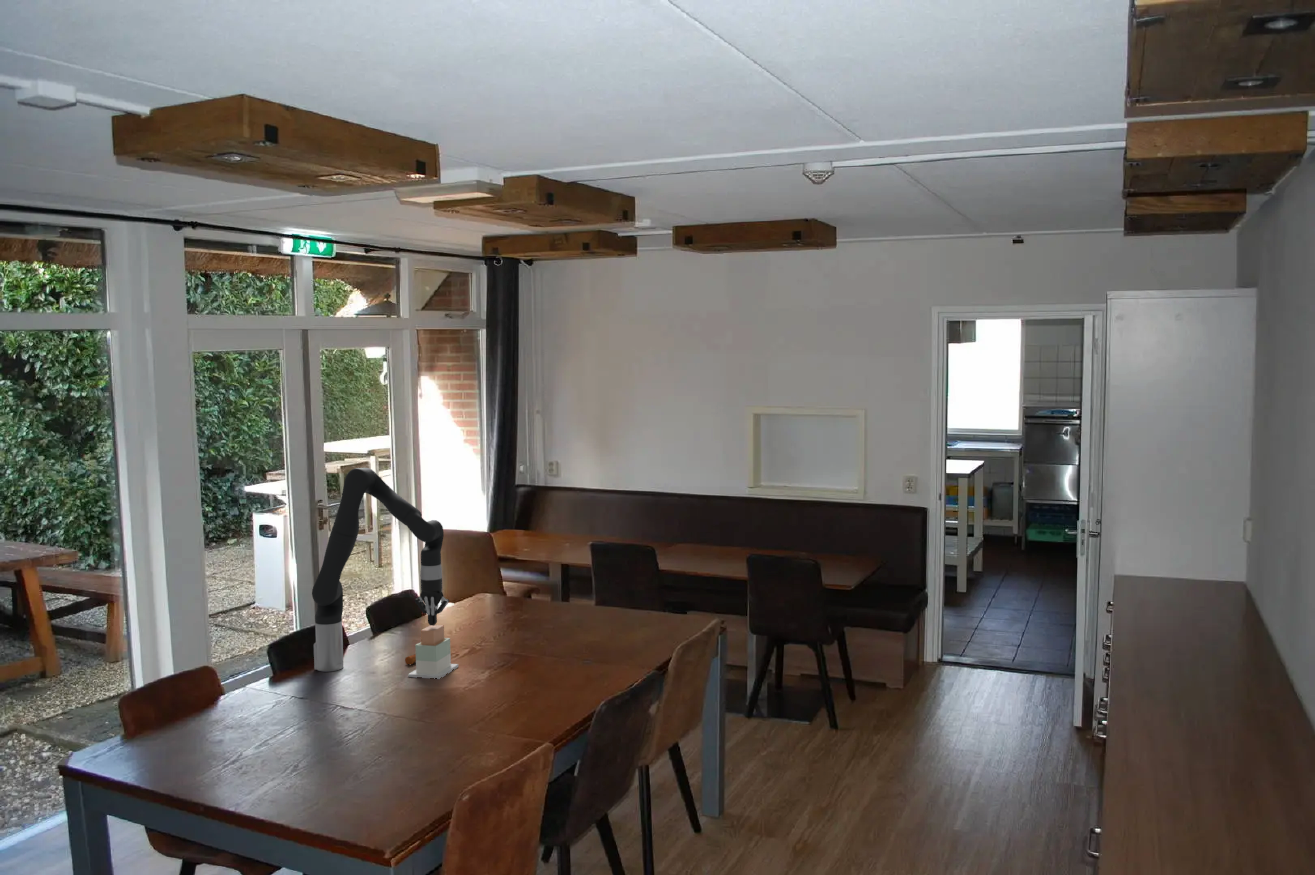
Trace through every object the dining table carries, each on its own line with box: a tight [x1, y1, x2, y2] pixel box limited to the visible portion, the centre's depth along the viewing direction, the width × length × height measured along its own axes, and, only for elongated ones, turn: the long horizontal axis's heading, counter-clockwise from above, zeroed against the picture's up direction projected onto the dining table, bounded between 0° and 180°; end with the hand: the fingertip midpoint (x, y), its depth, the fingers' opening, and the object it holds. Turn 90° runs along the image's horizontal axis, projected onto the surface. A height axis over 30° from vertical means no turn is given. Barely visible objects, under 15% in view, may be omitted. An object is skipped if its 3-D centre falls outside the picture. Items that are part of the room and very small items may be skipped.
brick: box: [420, 624, 445, 646], centre depth 375 cm, size 8×5×6 cm, turn 165°
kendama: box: [404, 653, 416, 665], centre depth 394 cm, size 6×6×20 cm
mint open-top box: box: [408, 637, 459, 680], centre depth 376 cm, size 15×12×11 cm
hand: (432, 625), depth 375 cm, fingers closed
